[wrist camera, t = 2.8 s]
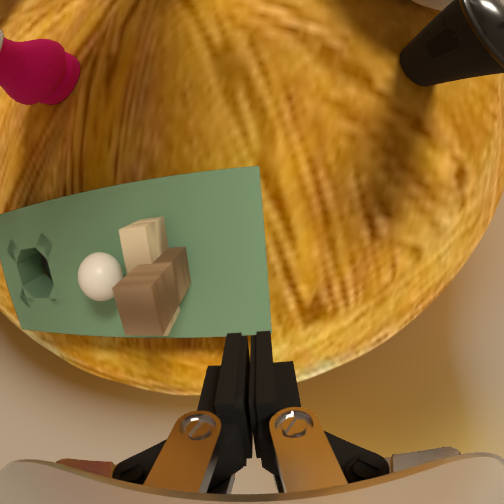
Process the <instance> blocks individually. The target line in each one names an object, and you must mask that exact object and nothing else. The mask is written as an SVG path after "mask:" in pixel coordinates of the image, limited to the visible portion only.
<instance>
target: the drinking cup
mask: <svg viewBox="0 0 504 504" xmlns="http://www.w3.org/2000/svg"><path fill="white" fill-rule="evenodd" d="M400 63H401V67H402V69H403V71H404V72H405V74H406V75H407V76H408V77H409V78H410V79H411V80H412V81H413V82H415V83H416V84H418V85H421V86H431V85H435V84H440V83H445V82H449V81H455V80H460V79H465V78H471V77H477V76H484V75H491V74H498V73H504V5H503V4H502V3H501V2H500V1H499V0H453V1H452V2H451V3H450V4H448V5H447V6H446V7H445V8H444V9H443V10H442V11H441V12H440V13H439V14H438V15H437V16H436V17H435V18H434V19H433V20H432V21H431V22H430V23H429V24H428V25H427V26H426V27H425V28H424V29H423V30H422V31H421V32H420V33H419V34H418V35H417V36H416V37H415V38H414V39H413V40H412V41H411V42H410V43H409V44H408V45H407V46H406V47H405V48H404V49H403V50H402V52H401V54H400Z"/></svg>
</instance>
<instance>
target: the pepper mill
mask: <svg viewBox="0 0 504 504" xmlns="http://www.w3.org/2000/svg"><path fill="white" fill-rule="evenodd" d="M79 74H80V64H79V61H78V59H77V58H76V57H75V56H73V55H71V54H69V53H67V52H65V51H64V48H63V47H62V46H61V45H60V44H59V43H58V42H55V41H52V40H49V39H36V40H30V41H24V42H14V41H11V40H8V39H6V38H4V35H3V32H2V31H1V30H0V86H1V87H2V88H3V89H4V90H5V91H6V93H7V94H8V95H9V96H10V97H11V98H12V99H14V100H15V101H17V102H19V103H22V104H25V105H32V104H36V103H38V102H40V103H43V104H48V105H54V104H58V103H60V102H61V101H63V100H64V99H65V98H67V96H68V95H69V94H70V93H71V92H72V90H73V89H74V87H75V85H76V83H77V81H78V78H79Z"/></svg>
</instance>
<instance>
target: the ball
mask: <svg viewBox="0 0 504 504" xmlns="http://www.w3.org/2000/svg"><path fill="white" fill-rule="evenodd" d="M122 279H123V270H122V267H121V265H120V263H119V262H118V261H117V259H116V258H114V257H113V256H112V255H110V254H108V253H104V252H96V253H92V254H90V255H88V256H87V257H86V258H85V259H84V260H83V261H82V263H81V264H80V267H79V270H78V283H79V286H80V288H81V290H82V291H83V292H84V294H85V295H86V296H88V297H89V298H91V299H93V300H96V301H106V300H109V299H111V298H113V297H114V294H113V290H112V288H113V287H114V286H115V285H116V284H117V283H118V282H119V281H120V280H122Z"/></svg>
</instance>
